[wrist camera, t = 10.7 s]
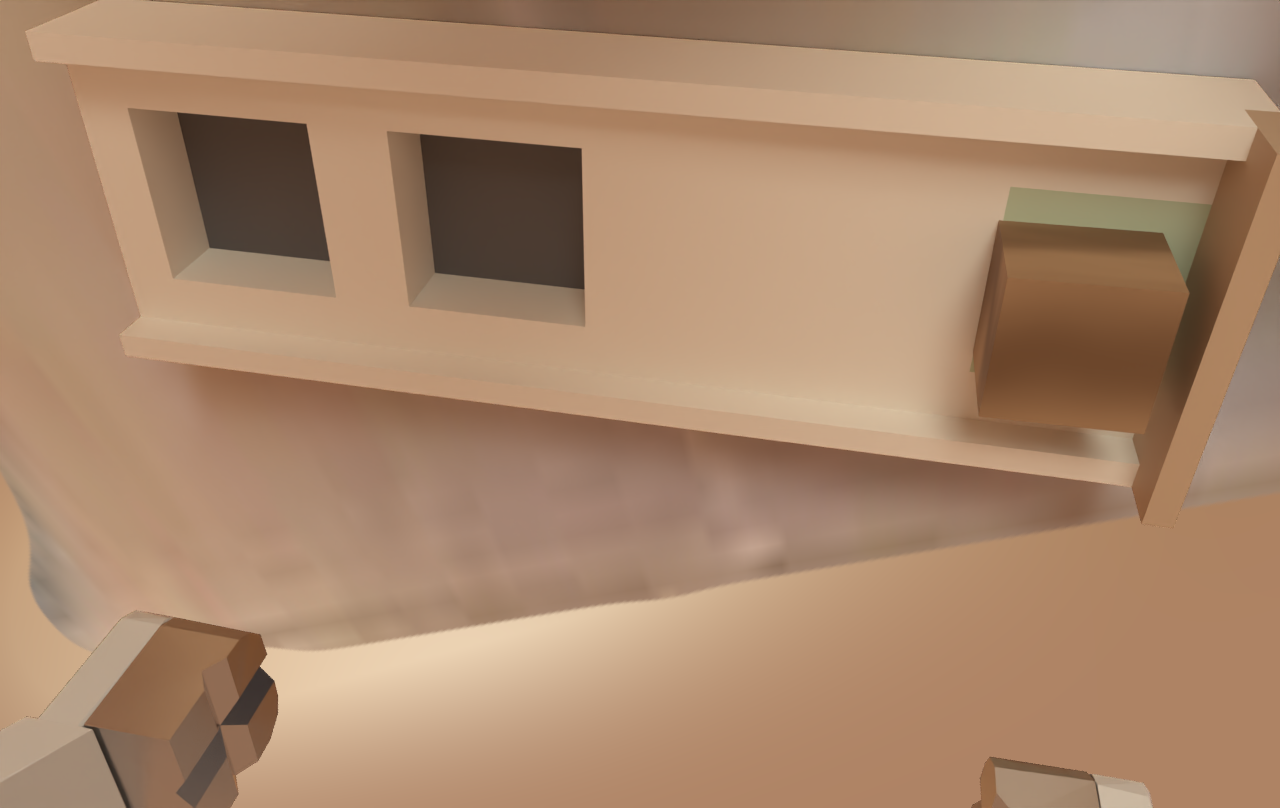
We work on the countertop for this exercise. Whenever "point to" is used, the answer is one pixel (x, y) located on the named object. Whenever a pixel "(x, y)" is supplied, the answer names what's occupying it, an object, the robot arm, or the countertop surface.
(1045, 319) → the walnut block
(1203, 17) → the countertop surface
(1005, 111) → the trap track
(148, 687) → the robot arm
